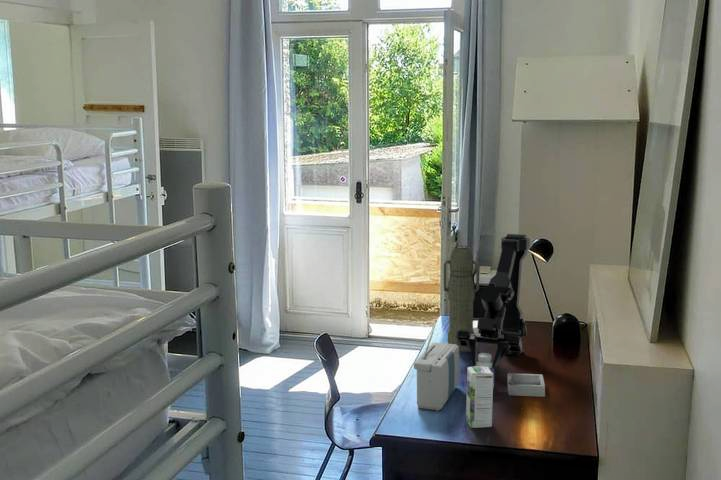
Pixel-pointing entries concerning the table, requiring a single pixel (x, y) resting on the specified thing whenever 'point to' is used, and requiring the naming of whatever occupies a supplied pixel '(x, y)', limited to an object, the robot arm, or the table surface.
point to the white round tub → (475, 328)
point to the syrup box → (479, 397)
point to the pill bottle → (485, 362)
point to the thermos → (461, 292)
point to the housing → (526, 385)
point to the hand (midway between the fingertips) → (483, 366)
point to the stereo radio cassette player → (437, 374)
